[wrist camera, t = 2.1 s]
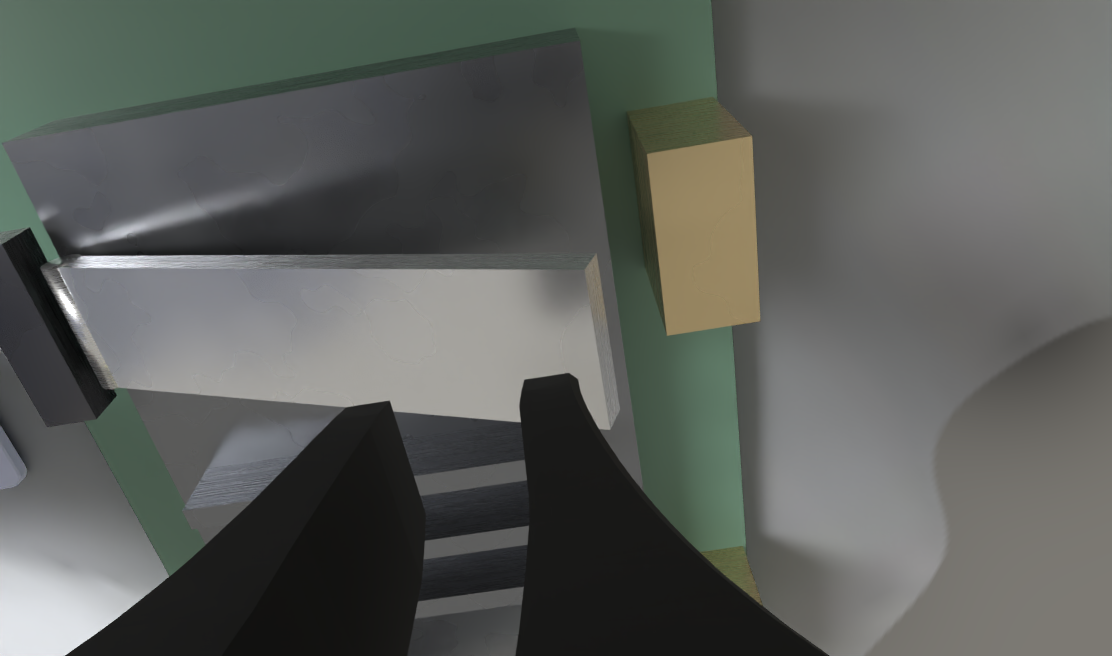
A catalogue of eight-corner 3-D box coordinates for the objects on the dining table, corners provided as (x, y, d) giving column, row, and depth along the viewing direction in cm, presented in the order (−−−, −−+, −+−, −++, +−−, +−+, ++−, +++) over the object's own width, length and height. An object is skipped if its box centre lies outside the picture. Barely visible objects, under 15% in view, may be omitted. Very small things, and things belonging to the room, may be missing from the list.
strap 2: (122, 369, 18) (94, 388, 18) (63, 254, 17) (31, 270, 16) (621, 406, 14) (608, 433, 13) (598, 250, 12) (581, 272, 12)
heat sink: (297, 731, 28) (268, 836, 25) (-8, 131, 18) (-126, 178, 14) (751, 672, 27) (780, 772, 24) (706, 3, 17) (747, 24, 14)
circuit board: (292, 760, 30) (285, 785, 29) (-112, -1, 17) (-146, 3, 16) (750, 701, 29) (757, 725, 28) (692, -154, 16) (700, -157, 15)
